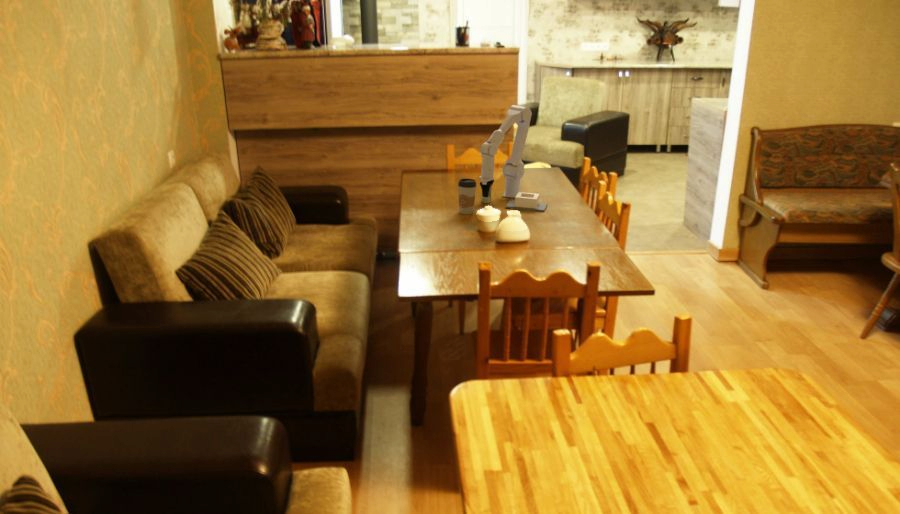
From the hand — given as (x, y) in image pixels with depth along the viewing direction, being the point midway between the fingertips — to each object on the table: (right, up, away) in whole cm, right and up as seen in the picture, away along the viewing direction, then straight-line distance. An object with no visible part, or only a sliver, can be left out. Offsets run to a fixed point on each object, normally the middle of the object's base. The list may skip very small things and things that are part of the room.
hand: (486, 195), depth 332 cm
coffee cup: (-10, -9, -17) cm, 22 cm away
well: (+19, -6, -5) cm, 20 cm away
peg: (0, -3, +1) cm, 3 cm away
